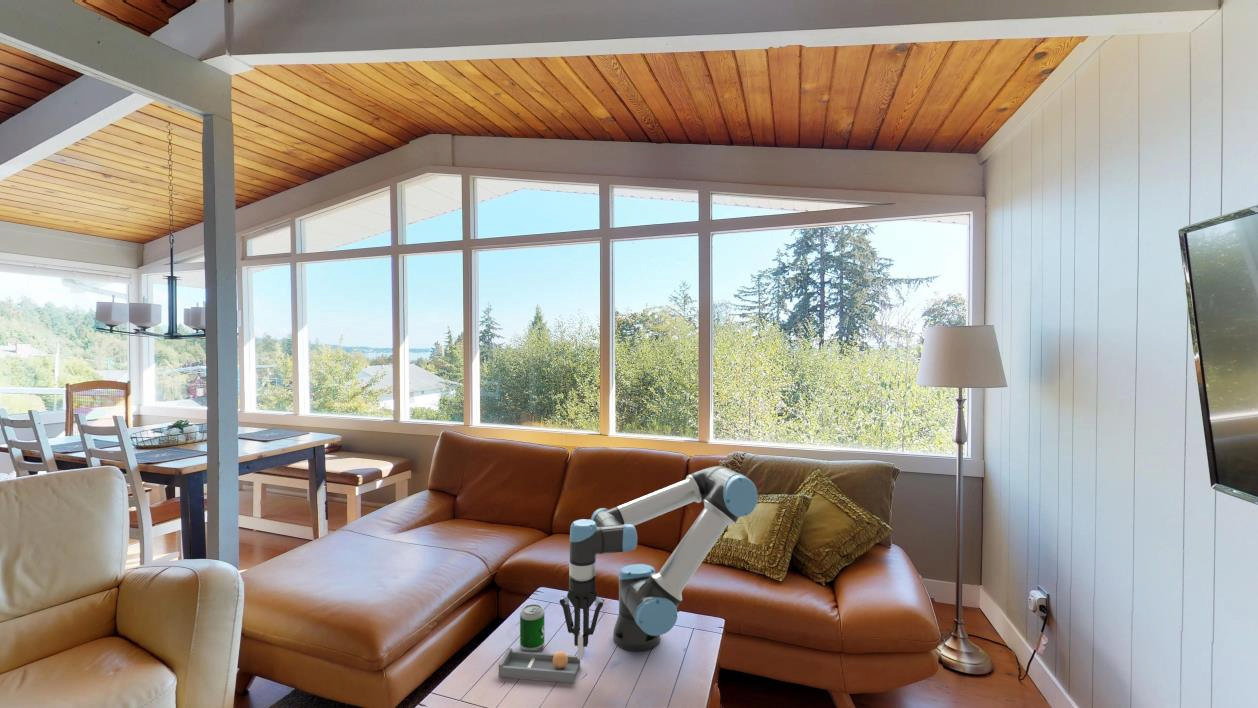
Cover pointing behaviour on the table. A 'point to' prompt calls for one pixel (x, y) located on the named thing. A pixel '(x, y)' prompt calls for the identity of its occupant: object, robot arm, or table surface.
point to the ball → (560, 660)
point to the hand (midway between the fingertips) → (581, 656)
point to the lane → (537, 667)
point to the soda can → (532, 627)
